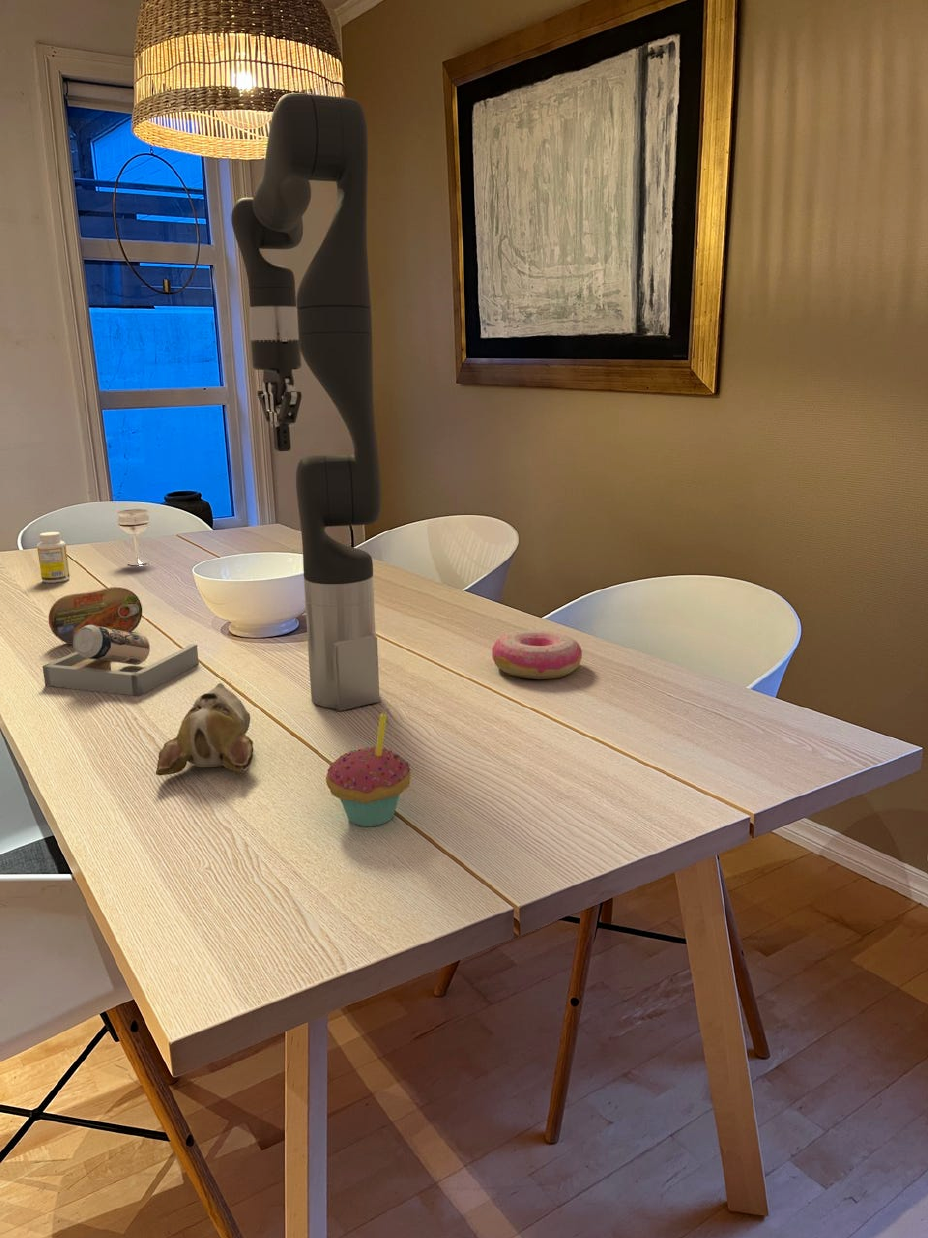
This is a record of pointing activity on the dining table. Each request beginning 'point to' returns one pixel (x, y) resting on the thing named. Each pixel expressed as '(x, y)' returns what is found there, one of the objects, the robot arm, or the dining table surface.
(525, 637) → the donut
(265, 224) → the robot arm
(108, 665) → the tan wooden block
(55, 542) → the supplement bottle
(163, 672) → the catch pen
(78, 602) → the tin
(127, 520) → the wineglass
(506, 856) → the dining table surface
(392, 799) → the cupcake
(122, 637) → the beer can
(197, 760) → the ceramic sculpture
